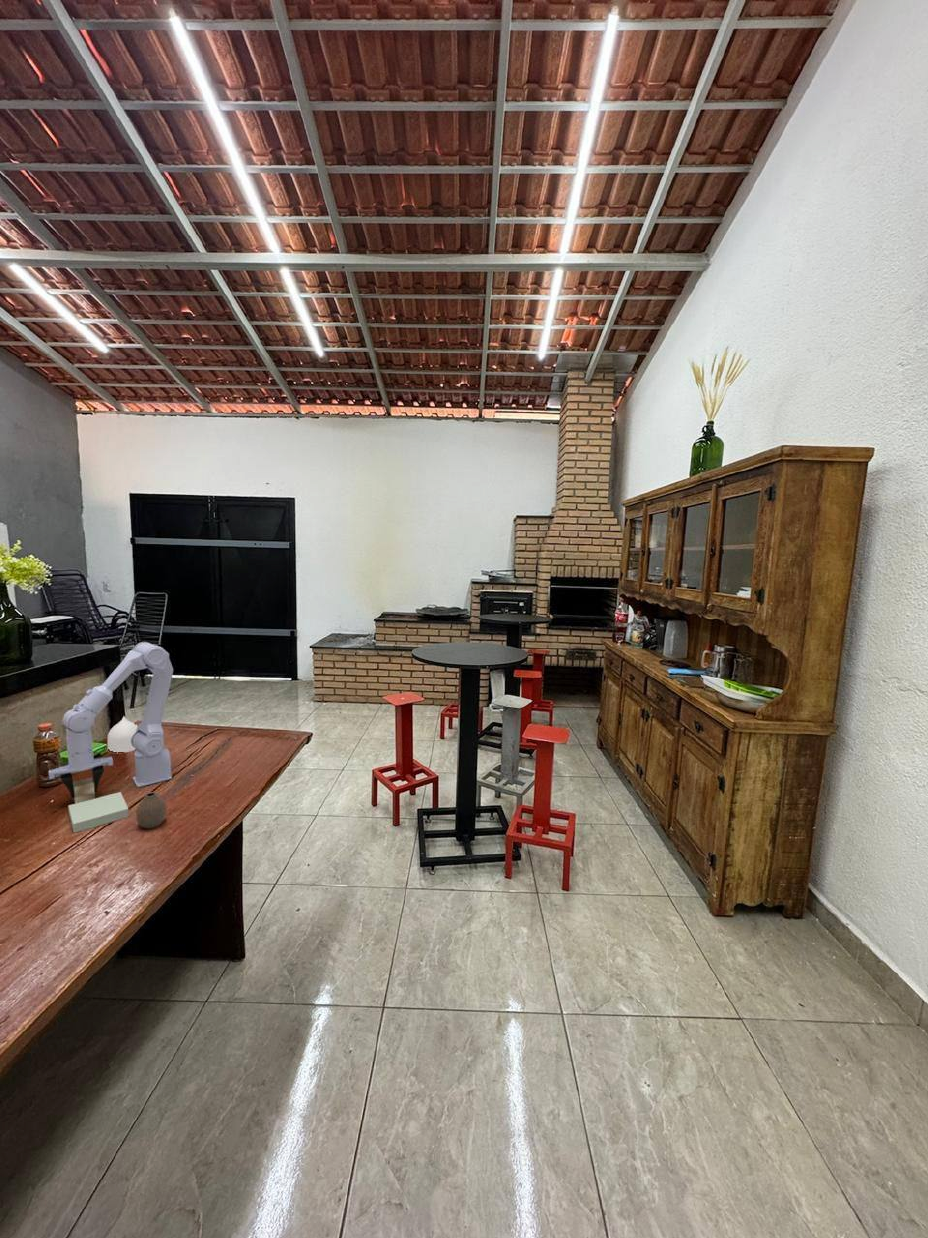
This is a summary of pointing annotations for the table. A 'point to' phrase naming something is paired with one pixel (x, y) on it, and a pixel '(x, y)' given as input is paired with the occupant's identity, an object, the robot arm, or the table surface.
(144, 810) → the vase
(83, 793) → the beech block
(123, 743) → the teardrop
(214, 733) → the table surface
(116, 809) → the base slab
